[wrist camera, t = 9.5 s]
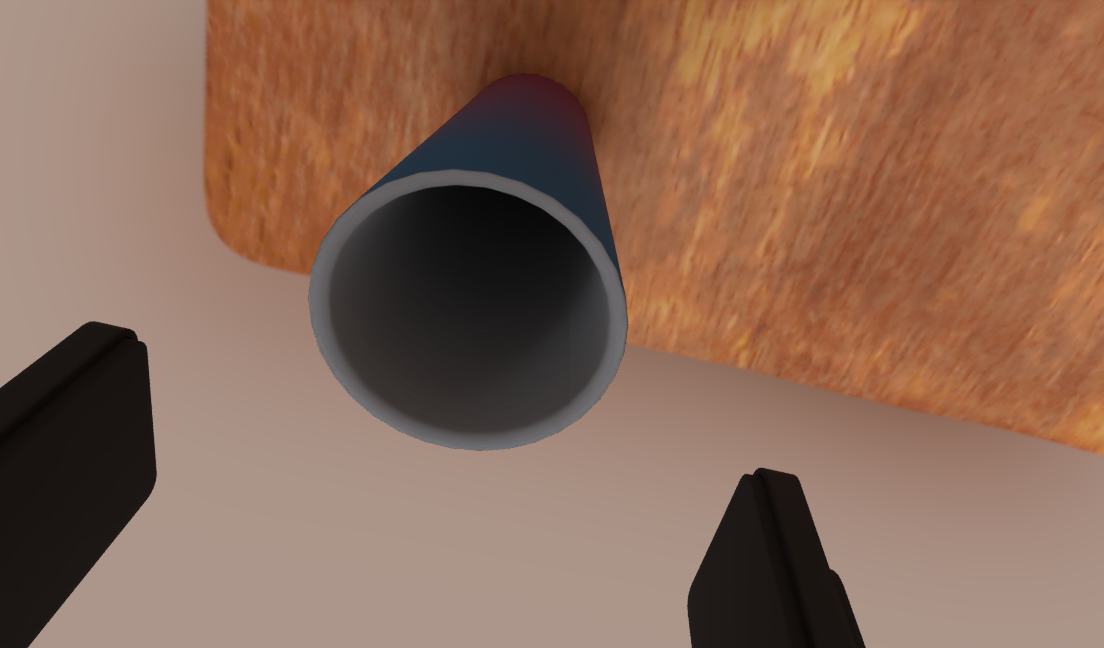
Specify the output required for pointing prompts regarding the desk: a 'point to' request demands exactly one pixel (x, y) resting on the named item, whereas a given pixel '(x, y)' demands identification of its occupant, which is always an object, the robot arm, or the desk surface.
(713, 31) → the desk surface
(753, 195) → the desk surface
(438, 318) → the cup
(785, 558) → the robot arm
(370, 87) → the desk surface
